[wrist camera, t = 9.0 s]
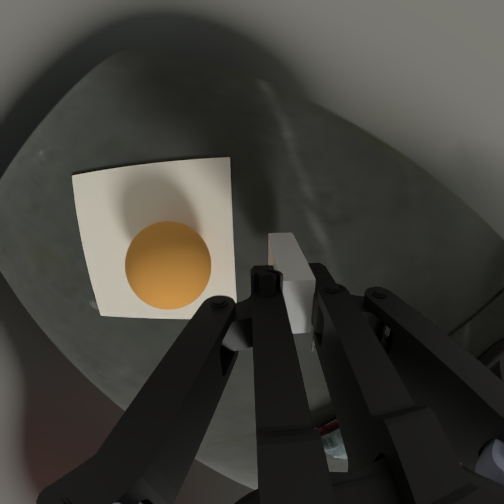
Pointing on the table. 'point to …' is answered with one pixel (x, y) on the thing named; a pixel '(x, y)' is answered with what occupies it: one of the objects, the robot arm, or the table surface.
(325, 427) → the packaged food
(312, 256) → the table surface
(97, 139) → the table surface
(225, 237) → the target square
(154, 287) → the ball
